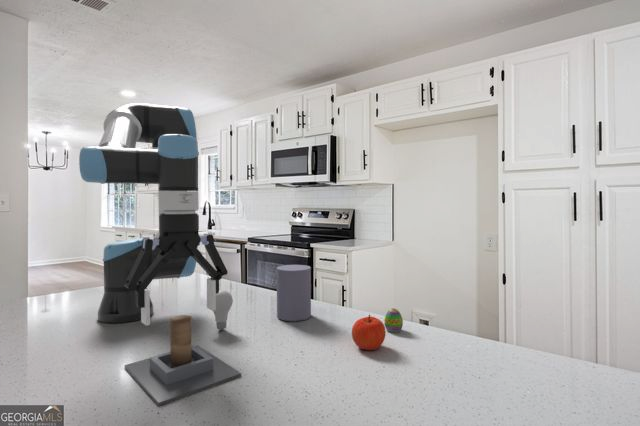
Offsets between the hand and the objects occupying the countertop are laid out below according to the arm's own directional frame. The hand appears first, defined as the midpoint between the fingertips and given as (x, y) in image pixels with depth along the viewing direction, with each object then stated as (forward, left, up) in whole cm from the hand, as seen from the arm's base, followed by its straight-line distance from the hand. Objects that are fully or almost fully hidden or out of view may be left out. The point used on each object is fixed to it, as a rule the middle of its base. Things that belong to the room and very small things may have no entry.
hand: (180, 315), depth 76 cm
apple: (+18, +38, -12) cm, 44 cm away
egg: (+15, +52, -12) cm, 55 cm away
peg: (0, 0, -10) cm, 10 cm away
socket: (0, 0, -12) cm, 11 cm away
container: (-13, +40, -12) cm, 43 cm away
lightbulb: (-17, +18, -12) cm, 27 cm away
